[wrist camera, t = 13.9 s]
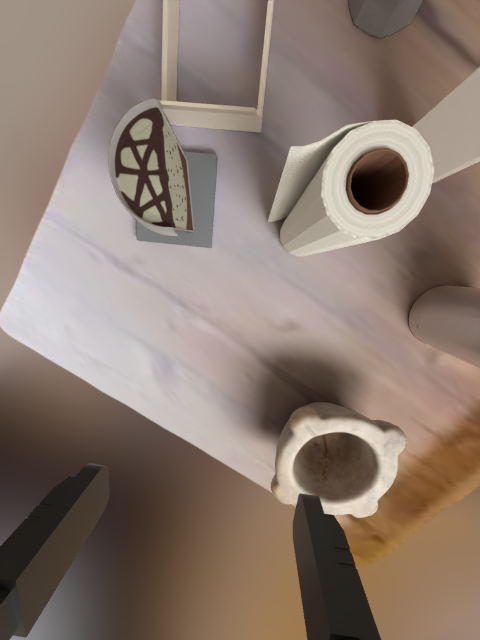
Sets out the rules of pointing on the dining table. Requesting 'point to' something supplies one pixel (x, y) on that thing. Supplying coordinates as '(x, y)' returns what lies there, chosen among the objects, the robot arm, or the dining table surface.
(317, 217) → the paper towel roll
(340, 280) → the dining table surface
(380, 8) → the coffeepot
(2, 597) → the robot arm
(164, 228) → the food container
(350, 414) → the mortar
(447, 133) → the milk
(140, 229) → the trivet
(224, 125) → the carton
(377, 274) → the dining table surface
